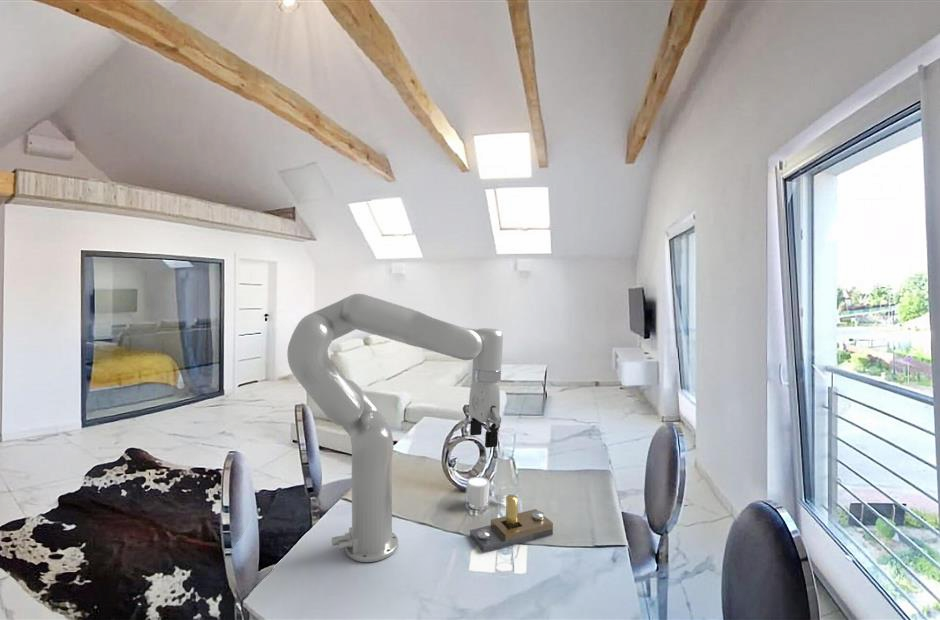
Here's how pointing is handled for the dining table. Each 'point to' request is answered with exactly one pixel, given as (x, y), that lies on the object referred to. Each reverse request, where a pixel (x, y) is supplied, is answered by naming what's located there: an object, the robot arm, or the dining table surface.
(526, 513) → the bolted fixture plate
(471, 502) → the white pillar candle
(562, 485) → the dining table surface
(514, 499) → the brass pin
